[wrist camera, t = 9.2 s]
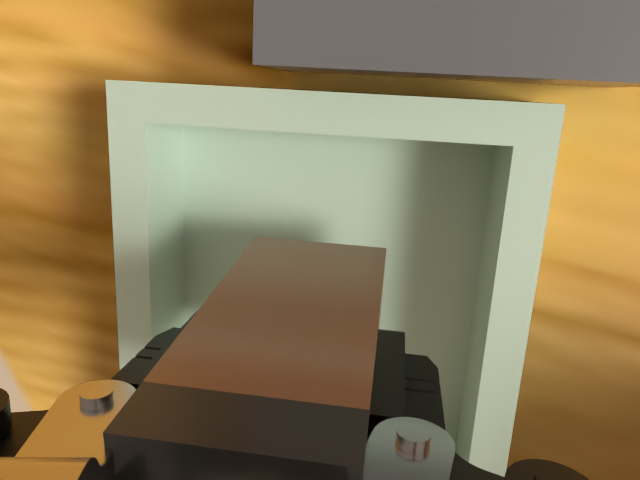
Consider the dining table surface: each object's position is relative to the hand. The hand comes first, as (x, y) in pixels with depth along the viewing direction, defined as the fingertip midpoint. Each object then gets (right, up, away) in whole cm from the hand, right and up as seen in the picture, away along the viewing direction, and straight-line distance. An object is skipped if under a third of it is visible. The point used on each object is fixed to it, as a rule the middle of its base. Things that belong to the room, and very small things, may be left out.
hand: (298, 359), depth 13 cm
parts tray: (+1, +1, +5) cm, 5 cm away
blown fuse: (0, +1, +2) cm, 3 cm away
